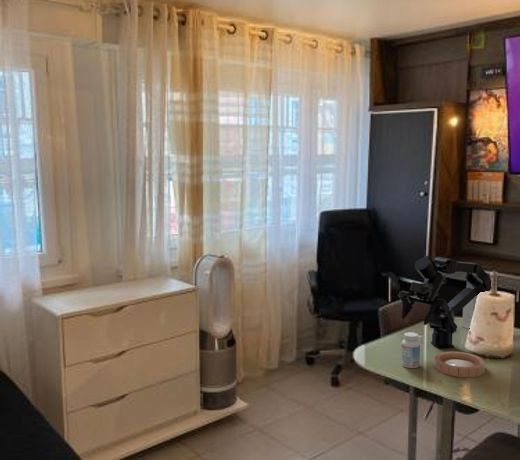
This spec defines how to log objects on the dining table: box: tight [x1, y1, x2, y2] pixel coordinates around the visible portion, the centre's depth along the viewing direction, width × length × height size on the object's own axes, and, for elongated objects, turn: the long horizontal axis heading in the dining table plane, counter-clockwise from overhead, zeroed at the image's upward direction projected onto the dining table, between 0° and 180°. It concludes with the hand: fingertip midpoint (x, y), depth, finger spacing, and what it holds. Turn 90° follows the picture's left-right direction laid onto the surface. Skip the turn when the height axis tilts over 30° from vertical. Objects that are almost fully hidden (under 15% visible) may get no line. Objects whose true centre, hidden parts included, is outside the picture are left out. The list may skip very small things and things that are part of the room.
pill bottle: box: [401, 331, 421, 369], centre depth 185 cm, size 6×6×11 cm
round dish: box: [433, 350, 486, 378], centre depth 183 cm, size 16×16×3 cm
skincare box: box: [461, 296, 477, 330], centre depth 224 cm, size 8×6×15 cm
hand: (413, 321), depth 192 cm, fingers open, 9 cm apart
